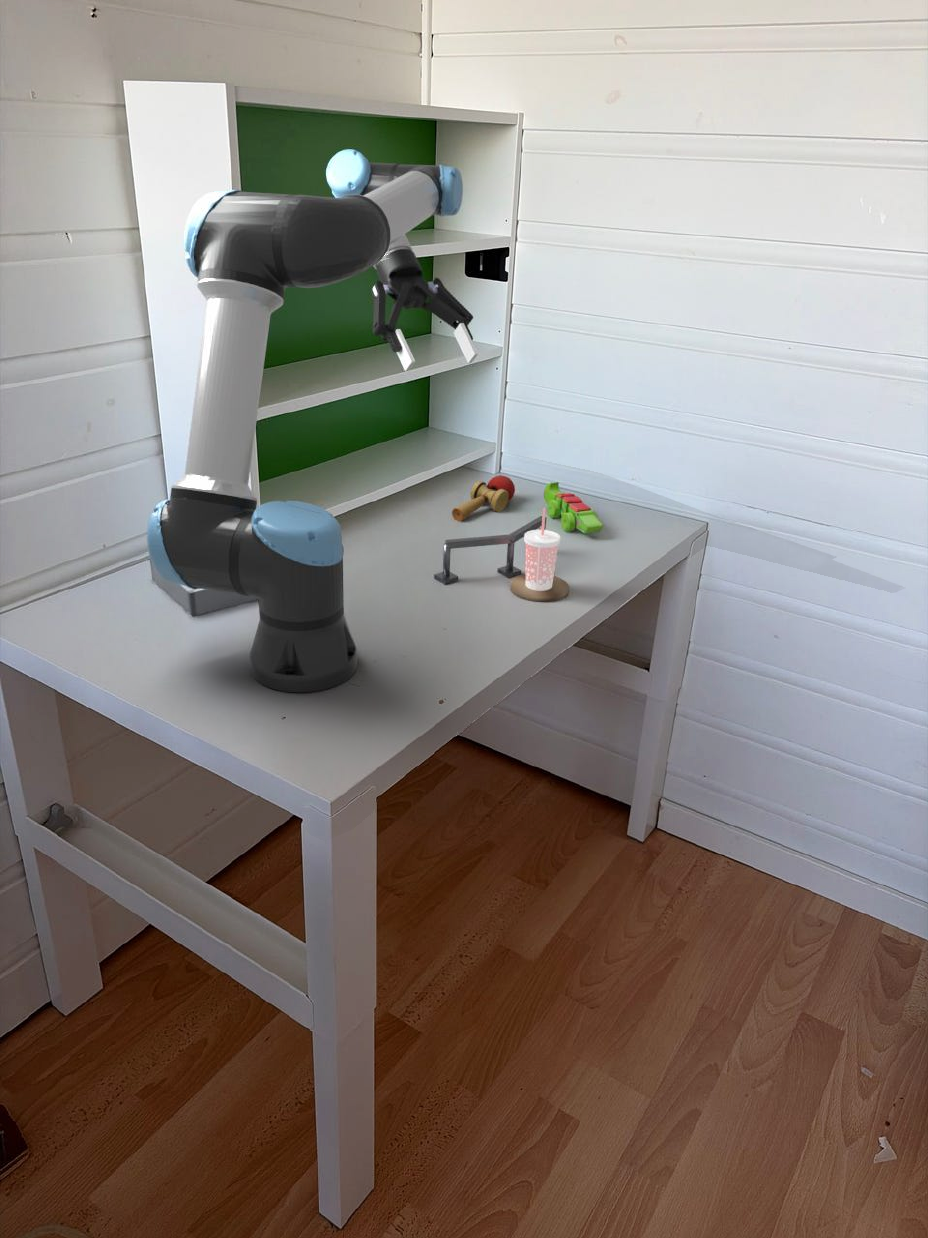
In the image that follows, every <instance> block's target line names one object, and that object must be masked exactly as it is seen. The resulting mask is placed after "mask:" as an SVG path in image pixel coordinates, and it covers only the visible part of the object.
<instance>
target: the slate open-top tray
mask: <svg viewBox="0 0 928 1238" xmlns="http://www.w3.org/2000/svg"><path fill="white" fill-rule="evenodd" d="M149 564H150V572H151V580H152V581H153V582H154V583H155V584H157V586H159V587H160V588H161V589H162V590H163V591H164V592H165V593H166V594H167V595H168V596H169V597H170V598H171V599H173V600H174V601H175V602H176V603H177V604H178V605H179V606H180V607H182V608H183V609H184V610H185V611H186V612H187V613H188V614H189V615H190V616H191V617H194V616H198V615H202V614H205V613H209V612H214V611H217V610H221V609H225V608H229V607H233V606H237V605H240V604H244V603H248V602H252V601H257V600H258V598H256V597H251V596H245V595H238V594H232V593H226V592H219V591H213V590H207V589H192V588H189V587H187V586H184V585H180V584H175V583H171V582H169V581H167V580H165V579H164V578H163V577H162V576H161V575H160V574H159V573H158V572H157V571H156V568H155V566H154V565H153V563H152V561H151V558H150V557H149Z"/></svg>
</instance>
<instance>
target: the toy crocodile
mask: <svg viewBox="0 0 928 1238" xmlns="http://www.w3.org/2000/svg"><path fill="white" fill-rule="evenodd" d="M543 499H544V502H545V503H546V504H547V507H546V511H547V515H548V517H549V518H550V519H558V518H559V517H560V516H561V518H560V524H561V528H562V530H563V531H564V532H565V533H567V532H568V533H569V532H573V531H575V528H576V529H577V530H579V531H580V532H581V533H583V534H586V535H587V534H592V533H594V534H595V533H600V532H601V531H602V530H603V527H604V526H603V523H602V522H601V521H600V519H598V514H597V513H596V511H595V510H593V509H591V507H590V506H588V505H587V504H586V503H585V502H583V500H582V499H581V498H580V497H579V496H576V495H575V494H574V493H571V492H570V493H569V492H568V493H565V492H563V491H562V490H560V487H559V481H555V482H549V483H547V484H546V485H545V487H544V490H543Z"/></svg>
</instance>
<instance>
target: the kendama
mask: <svg viewBox="0 0 928 1238" xmlns="http://www.w3.org/2000/svg"><path fill="white" fill-rule="evenodd" d="M515 492H516V487H515V483H514V482H513V481H512V479H511V477H510V478H509V477H508V476H506V475H495V476H494V477H492V478H491V479H490V480H488V482H487V483H486V482H485V481H482V480H477V482H475V483H474V485H473V486H472V488H471V491H470V499H471V500H469V501H466V502H465V503H463V504H461V505H459V506H456V507H454V508H453V509H452V510H451V514H452V517H453V519H454V520H455V521H456V520H457V522H459V523H460V522H463V521H464V520H465V519H466V518H468V517H469V516H470V515H471V514H473V513H475V512H476V510H478V509H480V507H482V506H483V505H484V504H485V503H488V504H489V505H490V508H491V511H493V512H496V513H500V512H502V511H503V510H504V509H505V508H506V507H507V505H508V503H509V502H510V501H511V500H512V499H513V497H514V495H515ZM499 511H500V512H499Z"/></svg>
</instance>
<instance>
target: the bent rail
mask: <svg viewBox="0 0 928 1238" xmlns="http://www.w3.org/2000/svg"><path fill="white" fill-rule="evenodd" d="M542 516H543V515H540V516H538V517H537V518H535V519H533V520H532V521H530V522H528V523H526V524H525V525H522V526H521V527H519V528H518V529H516V530H514V531H513V532H511V533H509V534H500V535H486V536H475V537H465V538H453V539H452V538H451V539H445V542H444V543H443V553H442V554H443V555H442V556H443V559H442V560H443V561H442V572H441V571H440V572H438V573H434V574H433V578H434V580H436V581H437V582H439V583H441V584H443V585H448V584H451V583H454V582H458V581H459V576H458V575H456V574H455V573H454V572H452V571H451V552H452V551H451V549H461V548H462V549H463V548H474V547H475V548H476V547H484V546H485V547H487V546H495V545H496V546H497V545H507V547H506V548H507V550H506V551H507V552H506V565H504V566H501V567H497V573H498V574H500V575H502V576H504V577H505V578H508V579H511V578H515V577H517V576H519V575H522V569H520V568H519V567H516V566H514V562H515V561H514V559H515V543H516V542H518V541H520V540H521V539H524V534H525V533H526V532H528V531H531V530H541V529H542ZM546 527H547V517H546V516H545V527H544V530H547V528H546Z"/></svg>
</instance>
